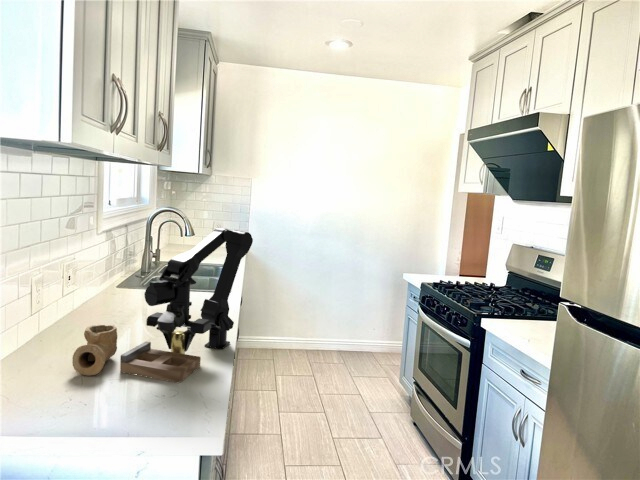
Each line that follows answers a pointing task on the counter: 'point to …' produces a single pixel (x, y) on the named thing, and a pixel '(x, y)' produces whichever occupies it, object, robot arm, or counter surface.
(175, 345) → the brass cylinder rod
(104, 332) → the pipe
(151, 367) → the jig
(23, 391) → the counter surface
